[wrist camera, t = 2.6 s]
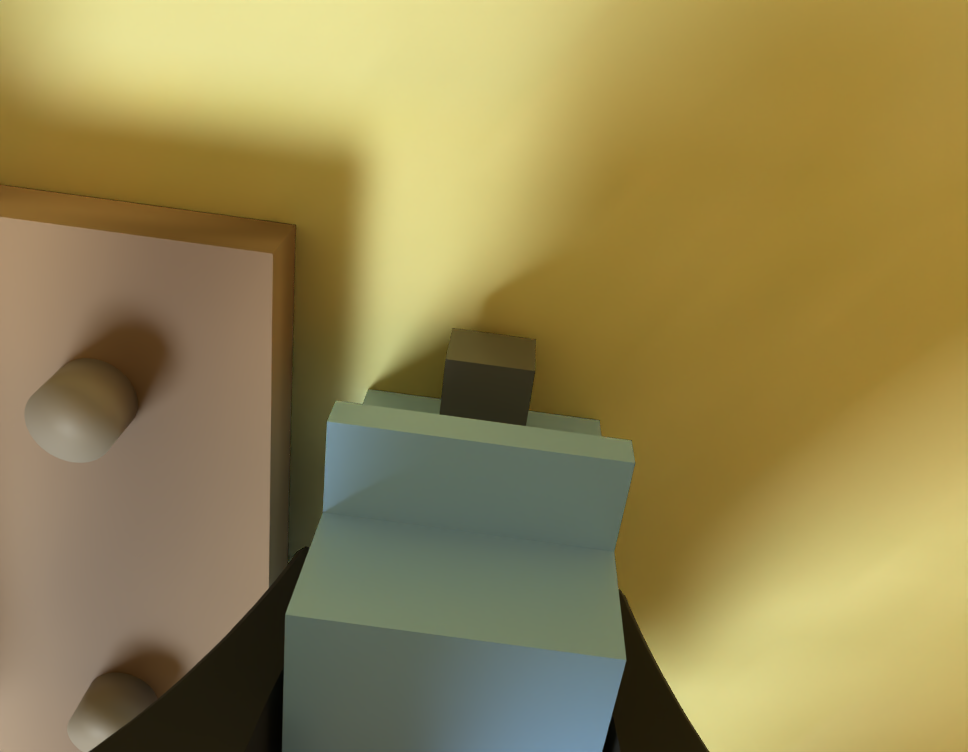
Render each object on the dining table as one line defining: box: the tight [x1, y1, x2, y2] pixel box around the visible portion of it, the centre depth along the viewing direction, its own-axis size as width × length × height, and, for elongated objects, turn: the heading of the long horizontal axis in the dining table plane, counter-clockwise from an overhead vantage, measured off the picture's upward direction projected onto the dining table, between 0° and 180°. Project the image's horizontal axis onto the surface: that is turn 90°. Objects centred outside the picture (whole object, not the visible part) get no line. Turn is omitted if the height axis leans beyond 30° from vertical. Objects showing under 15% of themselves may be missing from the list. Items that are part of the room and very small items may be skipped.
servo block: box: [282, 328, 635, 752], centre depth 13 cm, size 9×4×6 cm, turn 173°
